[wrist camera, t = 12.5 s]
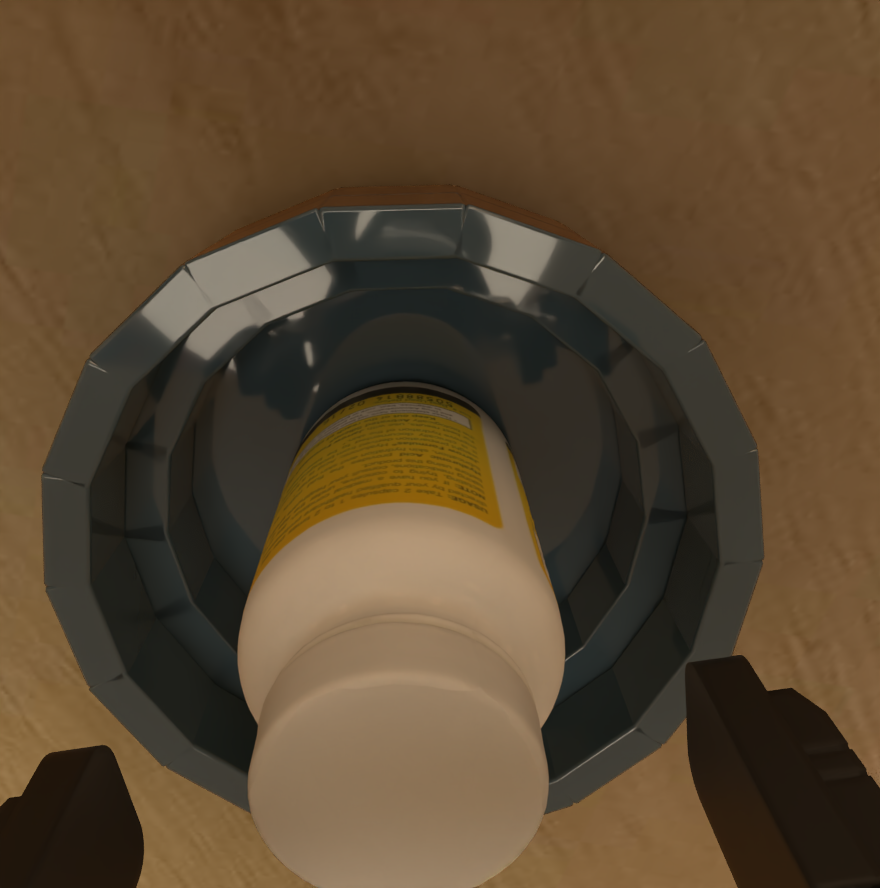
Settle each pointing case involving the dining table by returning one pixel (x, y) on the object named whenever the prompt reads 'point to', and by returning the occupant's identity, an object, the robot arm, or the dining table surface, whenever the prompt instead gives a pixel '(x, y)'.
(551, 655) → the supplement bottle
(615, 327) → the bowl
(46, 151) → the dining table surface
